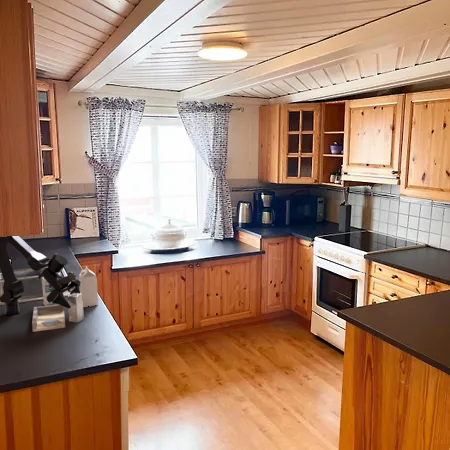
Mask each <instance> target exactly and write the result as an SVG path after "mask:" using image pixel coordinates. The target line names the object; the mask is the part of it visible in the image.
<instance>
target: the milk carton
mask: <svg viewBox="0 0 450 450" xmlns="http://www.w3.org/2000/svg"><path fill="white" fill-rule="evenodd" d="M78 277H79V279H78V280H79V281H80V282H81V283H80V286H79V291H80V293H81V294H82V298H83V308H88V306H89V307H95V305H96V306H98V305H99V298H98V284H97V283H98V281H97V275H96V274H95V272H93V271H92V270H90V269H89V268H88V266H87V265H85V268H84V269H82V270H81V271H80V273H79V275H78Z"/></svg>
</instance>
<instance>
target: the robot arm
mask: <svg viewBox="0 0 450 450" xmlns="http://www.w3.org/2000/svg"><path fill="white" fill-rule="evenodd" d="M8 243H9V244H10V245H11V246H12V247H13V248H14V249H15V250H16V251H17V252H18V253H19V254H21V256H23V257H24V258H25V259H26V263H27V265H28V266H29V267H30V269H32V271H33V272H38V271H39V272H38V273H37V274H38V275H37V278H38V279H42V277H43V278H44V279H45V280H46V281H47V282H48V283H49V284H50V285H49V288H50V287H52V288H53V289H54V290H53V291H51V293H50V294H49V295H48V296H47V297H46V299H47V301H48V302H49V303H51V302H52V301H53V302H52V303H55V304H58V305H61V306H64V308H66V309H68V308H69V309H70V308H71V306H70V305H69V303H68V300H67V299H66V298H65V297H64V293H66V292H68V293H69V295H70V294H72V293H80V283H81V282H80V281H79V279H77V278H76V277H77V274H76V272H74V271H73V270H72V271H70V272H68V273H67V275H65V276H64V275H60V272H61V271H62V270H63V269H64V268H65V267H66V266H67V264H68V259H67V258H66V257H65V256H62V255H60V254H59V253H54V254H53V256H52V257H51V258H48V257H47V256H45V255H44V254H43V253H41V252H38V251H36V250H34V249H33V248H32V247H31V246H30V245H28V243H27V242H25V240H23V239H22V238H21V237H20V236H19V235H18V236H7V237H0V272H1V275H2V279H3V285H2V290H3V293H2V294H1V295H0V303H2V304H3V303H4V307H5V308H4V309H5V311H4V314H3V315H4V316H9V315H10V316H11V315H17V314H20V313H21V308H20V307H19V299H21V298H22V297H23V293H24V292H25V289H24V288H25V286H24V284H23V280H22V279H18V278H17V277H16V275H15V271H14V268H13V266H12V263H11V260H10V257H9V254H8V251H7V244H8ZM41 270H42V271H41ZM58 273H59V274H58ZM82 300H83V298H82Z"/></svg>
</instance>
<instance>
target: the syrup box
mask: <svg viewBox="0 0 450 450" xmlns="http://www.w3.org/2000/svg"><path fill="white" fill-rule="evenodd" d="M49 285H50V284H49V283H48V282H47V281H46V280H45V279H44V278H43V277H42V278H41V286H42V295H43V296H42V297H43V298H42V299H43V306H49V305H57V304H55V303H52V302H53V301H52V302H51V303H49V302H48V301H47V299H46V297H47V296H48V295H49V294H50V293H51V291H53V290H54V289H53V288H52V287H50V288H49Z"/></svg>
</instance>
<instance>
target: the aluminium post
mask: <svg viewBox="0 0 450 450" xmlns="http://www.w3.org/2000/svg"><path fill="white" fill-rule="evenodd" d="M67 302H68V303H69V305H70V306H71V308H70V309H69V308H67V309H68V321H69V322H72V323H80V322H81V321H83V320H84V319H85V318H84V317H85V316H84V307H83V300H82V294H81V293H72V294H70V293H69V295H67Z"/></svg>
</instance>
